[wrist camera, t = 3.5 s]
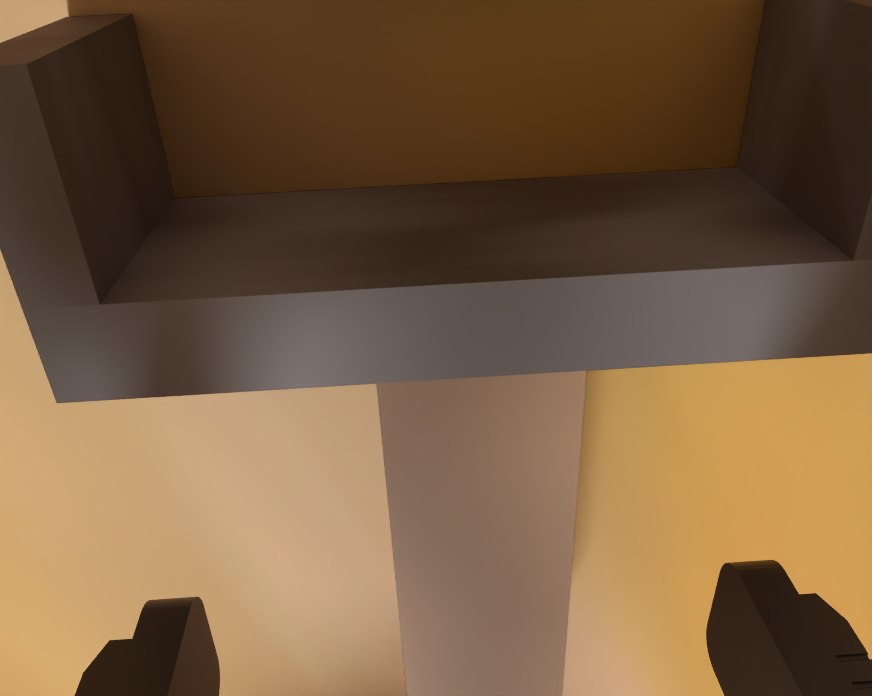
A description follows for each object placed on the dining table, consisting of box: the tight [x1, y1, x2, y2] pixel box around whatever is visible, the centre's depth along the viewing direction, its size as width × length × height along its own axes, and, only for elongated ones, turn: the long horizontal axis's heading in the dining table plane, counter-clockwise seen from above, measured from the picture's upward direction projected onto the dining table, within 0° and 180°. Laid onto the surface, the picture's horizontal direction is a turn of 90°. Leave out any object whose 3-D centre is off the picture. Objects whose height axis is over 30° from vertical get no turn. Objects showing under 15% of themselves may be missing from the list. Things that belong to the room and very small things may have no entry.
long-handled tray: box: [0, 0, 872, 696], centre depth 14 cm, size 12×16×4 cm
